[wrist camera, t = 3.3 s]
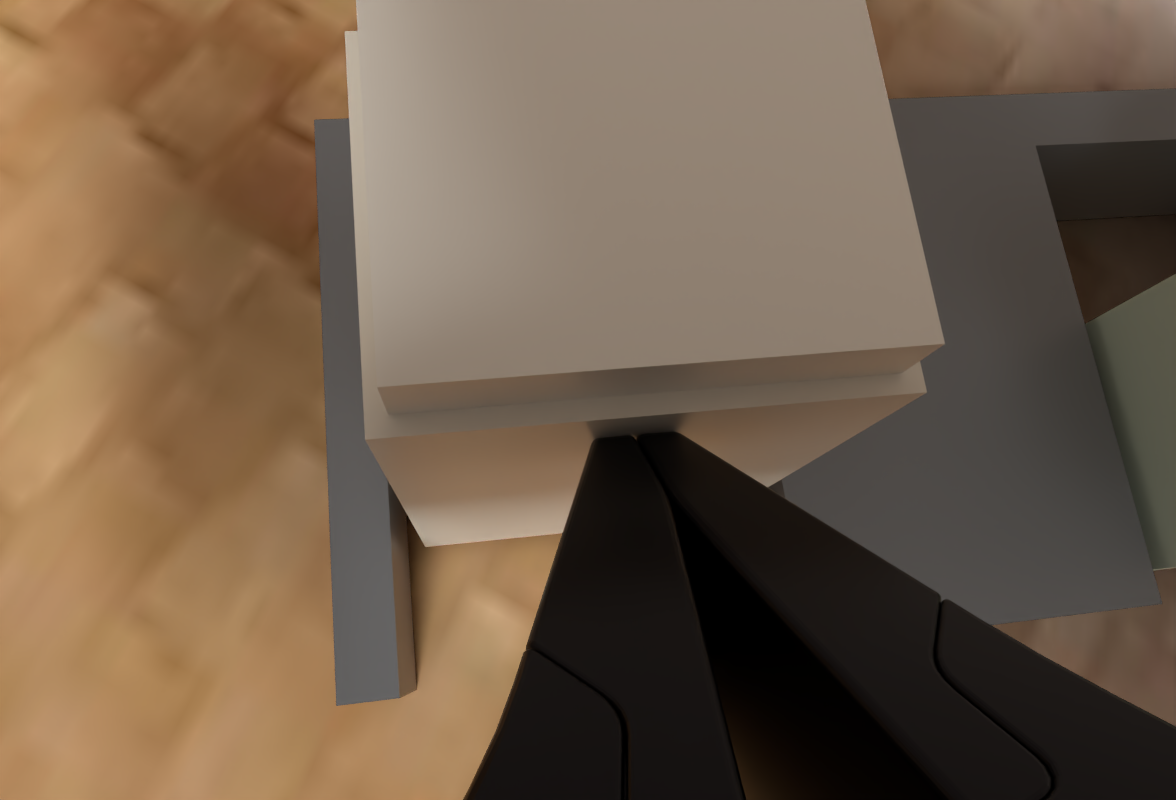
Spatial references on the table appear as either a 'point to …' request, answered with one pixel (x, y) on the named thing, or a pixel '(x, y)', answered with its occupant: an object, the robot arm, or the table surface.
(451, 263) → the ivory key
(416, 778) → the table surface
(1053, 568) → the gray two-slot stand
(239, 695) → the table surface
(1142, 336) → the pale green rectangular block
